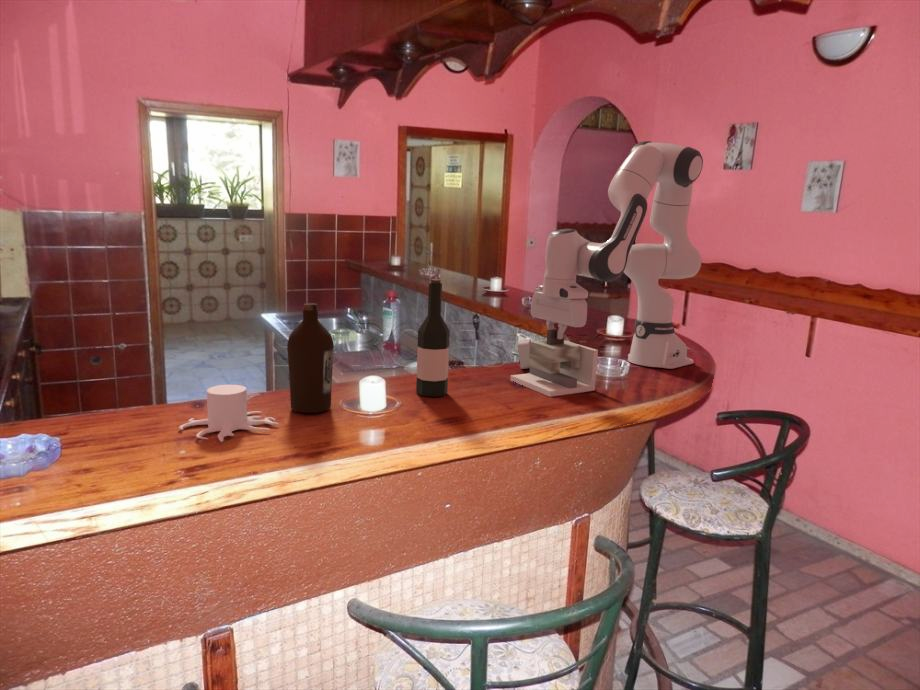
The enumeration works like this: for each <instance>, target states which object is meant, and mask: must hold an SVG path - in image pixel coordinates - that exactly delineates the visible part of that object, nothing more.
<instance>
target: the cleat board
mask: <svg viewBox="0 0 920 690" xmlns="http://www.w3.org/2000/svg"><path fill="white" fill-rule="evenodd" d="M564 341H566V342H569V343H573V344H576V345H580V346H581V349H580V362H579V370H577V371H568V370H565V369H563V368H560V373H554V374H550V373H547V372H544V371H542V370H539V369H536V368H534V367H531V366H530V368H529V372H527V373H521V374H520V373H519V374H511V375H510V381H511V382H513V381H514V382H513V383H515V382H516V384H518V385H520V386H522V385H523V387H525V388H527V389H530V390H533V391H535V392H537V393H539V394H542V395H545V396H546V397H550V398H552V397H556V396H565V395H573V394H579V393H585V392H586V393H587V392H592V391H593V392H594V391H595V389H596V388H595V387H596V379H597V368H598V367H597V366H598V354H599V350H598V349H596V348H592V347H589V346H585V345H582V344H577V343H575V342H571V341H568V340H566V339H564Z"/></svg>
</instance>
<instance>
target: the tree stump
mask: <svg viewBox="0 0 920 690" xmlns="http://www.w3.org/2000/svg"><path fill="white" fill-rule="evenodd" d="M259 393H260V392H259V391H258V392H257V393H247V387H246V386H244V385H239V384H219V385H214V386H211V387H209V388H207V389H206V406H207V407H206V408H207V418H205V419H204V418H203V419H196V418H194V417H192V418H190V419H188V420H187V422H186V423H183V424H181V425H179V426H178V429H179V430H180V431H181V430H182V431H183V430H184V428H186V427H194V426H200V425H207V428H205V429H203V430H201V431H198V432H197V433H196V435H195V437H196V438H197V439H205V440H209V438H208V437H205V436H204V437H203V436H202V435H204V434H209V433H214V432H215V433H216V432H219V433H218V434H217V438H218V440H219V442H220V443H222V442H224V440H225V439H224V438H225V437H228V436H229V437H234V436H235V433H233V432H234V431H237V430H246V431H271V428H265V427H255V426H254V425H258V424H266V425H273V426H274V425H277V426H279V425H280V423H279V422H276V419H275V418H274V417H271V416H268V417H265V418H264V419H261V418H262V416H261V415H253V414H262V413H263V412H262V411H259V410H258V411H257V410H256V411H248V406H247V405H248V404H250V402H249V400H250V399H253V398H254V397H256V396H260V394H259ZM247 403H248V404H247ZM250 415H252V416H250ZM259 418H260V419H259ZM272 420H273V421H272Z"/></svg>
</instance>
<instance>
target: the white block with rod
mask: <svg viewBox="0 0 920 690" xmlns="http://www.w3.org/2000/svg"><path fill="white" fill-rule="evenodd" d="M530 342H532V339H531V338H527V339H520V340H519V341H518V342H517V352H518V358H519V365H520V366H519V367H520V369H521V370H524V369H530V366H529V352H530Z"/></svg>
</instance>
